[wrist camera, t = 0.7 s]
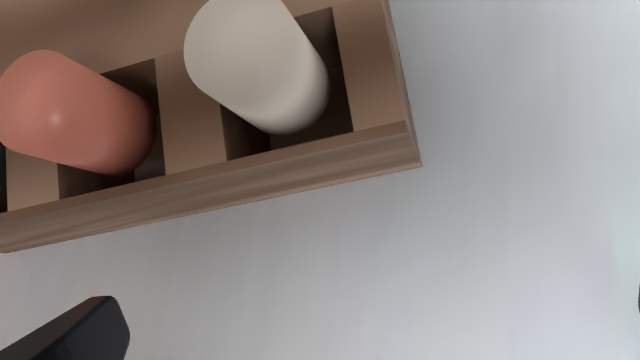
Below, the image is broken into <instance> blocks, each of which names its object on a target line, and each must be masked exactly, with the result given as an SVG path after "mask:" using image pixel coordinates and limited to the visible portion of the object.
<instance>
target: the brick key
mask: <svg viewBox="0 0 640 360" xmlns="http://www.w3.org/2000/svg"><path fill="white" fill-rule="evenodd" d="M156 131H157V125H156V118H155V115H154V112H153V110H152V108H151V106H150V105H149V103H148V102H147V101H146V100H145V99H144V98H142V97H141V96H139V95H137V94H135V93H134V92H132V91H130V90H128V89H126V88H124V87H122V86H120V85H118V84H117V83H115V82H113V81H111V80H109V79H107V78H105V77H103V76H101V75H100V74H98V73H96V72H94V71H92V70H90V69H88V68H86V67H84V66H83V65H81V64H79V63H77V62H75V61H73V60H71V59H69V58H67V57H66V56H64V55H62V54H60V53H58V52H55V51H51V50H36V51H32V52H29V53H27V54H25V55H23V56H21V57H19V58H18V59H17V60H15V61H14V62H13V63H12V64H11V65H10V66H9V67H8V68H7V69H6V70H5V72H4V73H3V74H2V76H1V78H0V142H1V143H2V144H3V145H4V146H6V147H7V148H8V149H10V150H12V151H15V152H18V153H22V154H25V155H29V156H33V157H37V158H41V159H45V160H49V161H53V162H56V163H60V164H64V165H68V166H72V167H76V168H80V169H84V170H87V171H91V172H95V173H99V174H103V175H107V176H121V175H124V174H127V173H129V172H131V171H133V170H135V169H136V168H137V167H139V166H140V165H141V164H142V163H143V162H144V161H145V159H146V158H147V157H148V155H149V154H150V152H151V150H152V148H153V145H154V142H155V138H156Z"/></svg>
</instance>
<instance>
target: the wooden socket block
mask: <svg viewBox="0 0 640 360" xmlns="http://www.w3.org/2000/svg"><path fill="white" fill-rule="evenodd" d="M208 1H209V0H0V78H1V76H2V74H3V73H4V72H5V70H6V69H7V68H8V67H9V66H10V65H11V64H12V63H13V62H14V61H15V60H17V59H18V58H19V57H21V56H23V55H25V54H27V53H29V52H32V51H36V50H51V51H55V52H58V53H60V54H62V55H64V56H66V57H67V58H69V59H71V60H73V61H75V62H77V63H79V64H81V65H83V66H84V67H86V68H88V69H90V70H92V71H94V72H96V73H98V74H100V75H101V76H103V77H105V78H107V79H109V80H111V81H113V82H115V83H117V84H118V85H120V86H122V87H124V88H126V89H128V90H130V91H132V92H134V93H135V94H137V95H139V96H141V97H142V98H144V99H145V100H146V101H147V102H148V103H149V105H150V106H151V108H152V110H153V112H154V115H155V118H156V125H157V131H156V138H155V142H154V145H153V148H152V150H151V152H150V154H149V155H148V157H147V158H146V159H145V161H144V162H143V163H142V164H141V165H140V166H139V167H137V168H136V169H135V170H133V171H131V172H129V173H127V174H124V175H121V176H107V175H103V174H99V173H95V172H91V171H87V170H84V169H80V168H76V167H72V166H68V165H64V164H60V163H56V162H53V161H49V160H45V159H41V158H37V157H33V156H29V155H25V154H22V153H18V152H15V151H12V150H10V149H8V148H7V147H6V146H5V148H6V174H7V176H6V180H5V183H4V185H3V187H2V189H1V190H0V253H9V252H14V251H19V250H23V249H28V248H33V247H38V246H43V245H47V244H52V243H57V242H62V241H67V240H71V239H76V238H81V237H86V236H91V235H95V234H100V233H105V232H110V231H115V230H119V229H124V228H129V227H134V226H139V225H143V224H148V223H153V222H158V221H163V220H167V219H172V218H177V217H182V216H187V215H191V214H196V213H201V212H206V211H211V210H215V209H220V208H225V207H230V206H235V205H239V204H244V203H249V202H254V201H259V200H263V199H268V198H273V197H278V196H283V195H287V194H292V193H297V192H302V191H307V190H311V189H316V188H321V187H326V186H331V185H335V184H340V183H345V182H350V181H355V180H359V179H364V178H369V177H374V176H379V175H383V174H388V173H393V172H398V171H403V170H407V169H412V168H417V167H422V163H421V158H420V153H419V149H418V144H417V139H416V134H415V129H414V124H413V119H412V114H411V109H410V104H409V99H408V94H407V89H406V85H405V80H404V75H403V70H402V65H401V60H400V55H399V50H398V45H397V40H396V35H395V30H394V25H393V21H392V16H391V11H390V6H389V1H388V0H281V1H282V3H283V4H284V5H285V6H286V8H287V9H288V11H289V12H290V14H291V15H292V16H293V18H294V19H295V21H296V22H297V24H298V25H299V27H300V28H301V30H302V31H303V33H304V34H305V35H306V37H307V38H308V40H309V41H310V43H311V44H312V46H313V47H314V49H315V50H316V51H317V53H318V54H319V56H320V57H321V59H322V60H323V62H324V63H325V65H326V67H327V69H328V71H329V74H330V78H331V94H330V99H329V102H328V105H327V107H326V109H325V111H324V112H323V114H322V115H321V117H320V118H319V119H318V120H317V121H316V122H315V123H314V124H313V125H312V126H310V127H309V128H307V129H306V130H304V131H302V132H300V133H297V134H294V135H290V136H274V135H270V134H267V133H265V132H263V131H261V130H259V129H258V128H256V127H255V126H253V125H252V124H250V123H249V122H247V121H246V120H244V119H243V118H242V117H240V116H239V115H237V114H236V113H234V112H233V111H231V110H230V109H228V108H227V107H225V106H224V105H222V104H221V103H219V102H218V101H216V100H215V99H213V98H212V97H210V96H209V95H207V94H206V93H204V92H203V91H202V90H201V89H199V88H198V87H197V86H196V85H195V84H194V82H193V81H192V79H191V78H190V76H189V74H188V72H187V69H186V66H185V61H184V42H185V37H186V34H187V31H188V28H189V26H190V24H191V22H192V20H193V18H194V17H195V15H196V14H197V13H198V11H199V10H200V9H201V8H202V7H203V6H204V5H205V4H206V3H207V2H208Z"/></svg>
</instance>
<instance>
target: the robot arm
mask: <svg viewBox="0 0 640 360" xmlns="http://www.w3.org/2000/svg"><path fill="white" fill-rule="evenodd" d="M638 307H639V312H640V287H639V298H638ZM129 341H130V332H129V328H128V325H127V323H126V321H125V318H124V316H123V313H122V311H121V309H120V306H119V304H118V302H117V300H116V299H115V298H114V297H112V296H98V297H91V298H89V299H87V300H85V301H84V302H82V303H80V304H79V305H77V306H75V307H73V308H72V309H70V310H68V311H67V312H65V313H63V314H62V315H60V316H58V317H57V318H55V319H53V320H52V321H50V322H48V323H47V324H45V325H43V326H42V327H40V328H38V329H36V330H35V331H33V332H31V333H30V334H28V335H26V336H25V337H23V338H21V339H20V340H18V341H16V342H15V343H13V344H11V345H10V346H8V347H6V348H4V349H3V350H1V351H0V360H124V357H125V354H126V351H127V348H128V345H129Z"/></svg>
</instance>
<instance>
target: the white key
mask: <svg viewBox="0 0 640 360" xmlns="http://www.w3.org/2000/svg"><path fill="white" fill-rule="evenodd" d="M184 61H185V66H186V69H187V72H188V74H189V76H190V78H191V79H192V81H193V82H194V84H195V85H196V86H197V87H198V88H199V89H201V90H202V91H203V92H204V93H206V94H207V95H209V96H210V97H212V98H213V99H215V100H216V101H218V102H219V103H221V104H222V105H224V106H225V107H227V108H228V109H230V110H231V111H233V112H234V113H236V114H237V115H239V116H240V117H242V118H243V119H244V120H246V121H247V122H249V123H250V124H252V125H253V126H255V127H256V128H258V129H259V130H261V131H263V132H265V133H267V134H270V135H274V136H290V135H294V134H297V133H300V132H302V131H304V130H306V129H307V128H309V127H310V126H312V125H313V124H314V123H315V122H316V121H317V120H318V119H319V118H320V117H321V115H322V114H323V112H324V111H325V109H326V107H327V105H328V102H329V99H330V94H331V78H330V74H329V71H328V69H327V67H326V65H325V63H324V62H323V60H322V59H321V57H320V56H319V54H318V53H317V51H316V50H315V49H314V47H313V46H312V44H311V43H310V41H309V40H308V38H307V37H306V35H305V34H304V33H303V31H302V30H301V28H300V27H299V25H298V24H297V22H296V21H295V19H294V18H293V16H292V15H291V14H290V12H289V11H288V9H287V8H286V6H285V5H284V4H283V3H282V1H281V0H209V1H208V2H207V3H206V4H205V5H204V6H203V7H202V8H201V9H200V10H199V11H198V13H197V14H196V15H195V17H194V18H193V20H192V22H191V24H190V26H189V28H188V31H187V34H186V37H185V42H184Z"/></svg>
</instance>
